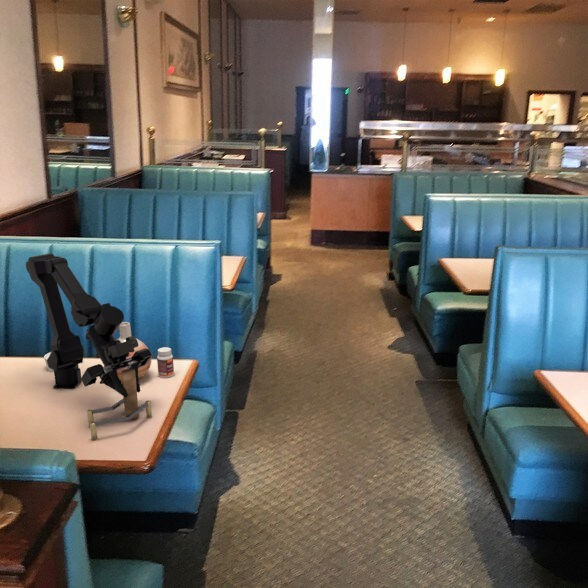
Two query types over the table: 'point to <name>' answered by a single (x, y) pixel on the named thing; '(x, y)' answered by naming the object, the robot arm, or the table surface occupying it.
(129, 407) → the walnut peg
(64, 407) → the table surface
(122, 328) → the vase
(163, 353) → the pill bottle
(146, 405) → the wire course
